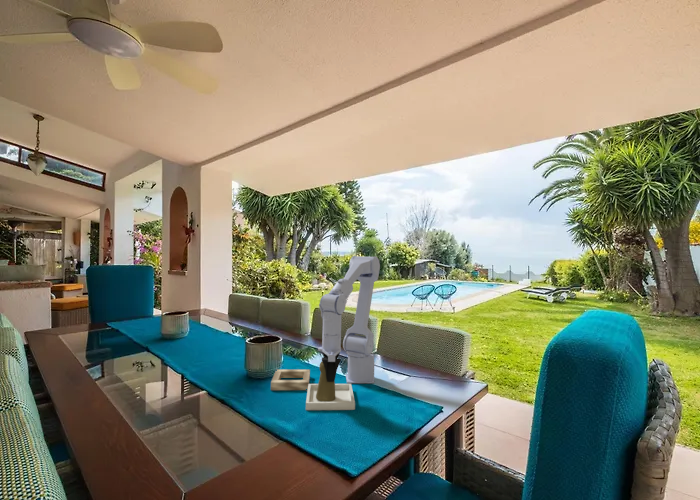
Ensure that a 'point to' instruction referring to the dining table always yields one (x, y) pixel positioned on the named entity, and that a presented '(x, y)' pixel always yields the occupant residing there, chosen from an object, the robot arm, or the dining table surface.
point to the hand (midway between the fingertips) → (330, 378)
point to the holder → (290, 384)
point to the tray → (340, 403)
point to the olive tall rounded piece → (325, 387)
